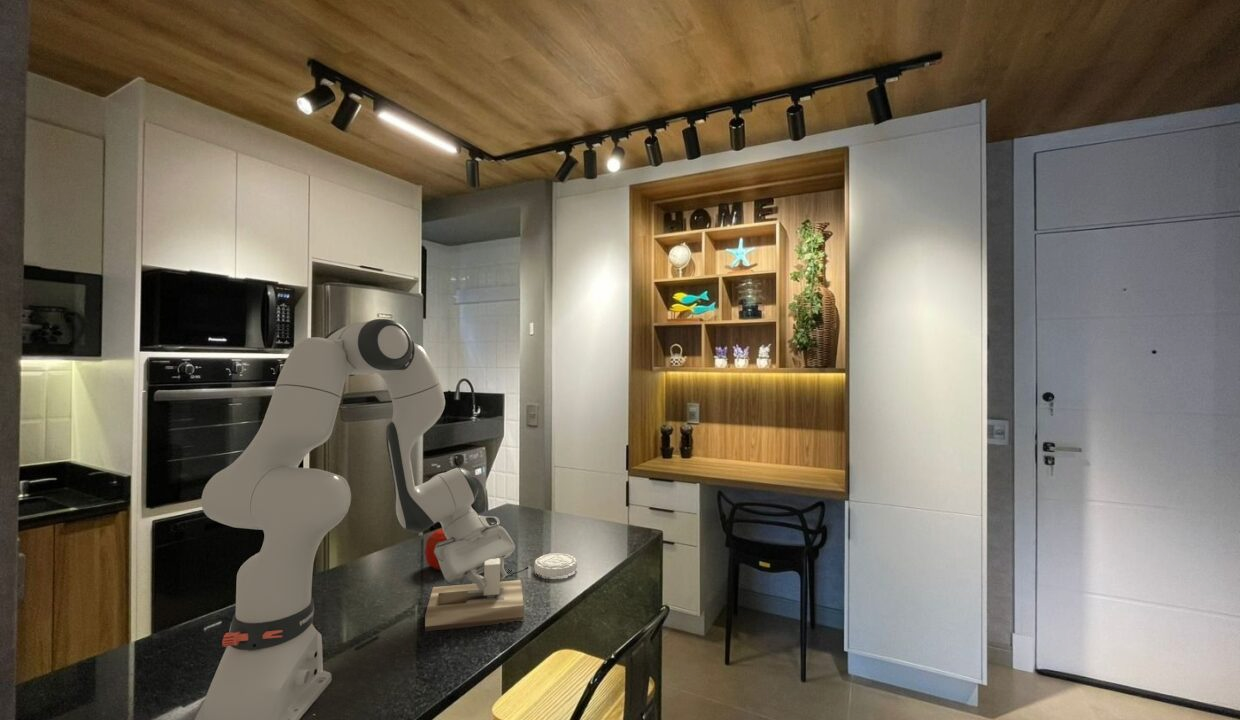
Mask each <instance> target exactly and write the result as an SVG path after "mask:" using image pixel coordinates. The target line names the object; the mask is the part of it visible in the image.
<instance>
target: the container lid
mask: <svg viewBox="0 0 1240 720" xmlns="http://www.w3.org/2000/svg"><path fill="white" fill-rule="evenodd" d="M533 564H534V566H533V567H534V569H535V572H537V574H540V575H542V576H546V577H550V576H552V577H556V576H563V575H568V574H569V573H572V572H573V571H575V570H576V568H577V569H578V561H577V558H575V557H574V556H573V555H570V554H568V553H563V552H560V553H557V552H556V553H550V552H549V553H547V554H543V555H541V556H539V557H537V558H536V559H535V561H534V563H533ZM534 569H533V570H534ZM535 572H534V573H535Z"/></svg>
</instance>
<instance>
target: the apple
mask: <svg viewBox="0 0 1240 720" xmlns="http://www.w3.org/2000/svg"><path fill="white" fill-rule="evenodd" d="M445 540H447V538H446V536H445V534H444V532H443V528H439V529H437V530H435V531H434V532H433V533H431V534H430V536H429V537H428V538H427V540H426V541H425V542H426V543H425V547H424V549H425V550H424V555H425V558H426V564H427V565H429V566H430V567H432V568H433V569H435V570H437V571H441V568H440V565H439V562H438V559H437V557H436V555H435V553H434V548H435V546H436V545H437V543H439V542H443V541H445ZM437 548H438V547H437Z"/></svg>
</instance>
